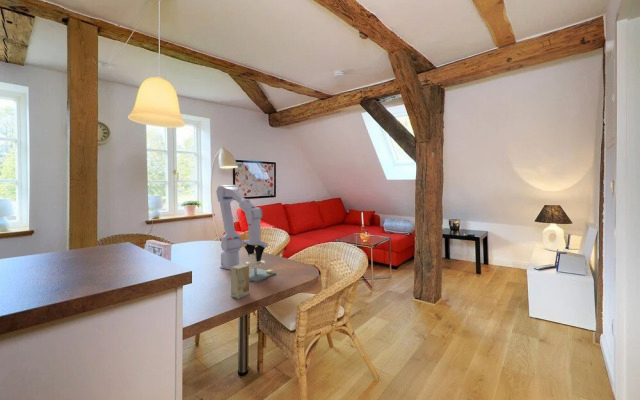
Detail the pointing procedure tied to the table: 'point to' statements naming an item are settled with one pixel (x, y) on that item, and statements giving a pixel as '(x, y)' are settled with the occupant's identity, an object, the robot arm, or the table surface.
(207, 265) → the table surface
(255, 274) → the carrier plate
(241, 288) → the skincare box
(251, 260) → the gear
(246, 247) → the robot arm
